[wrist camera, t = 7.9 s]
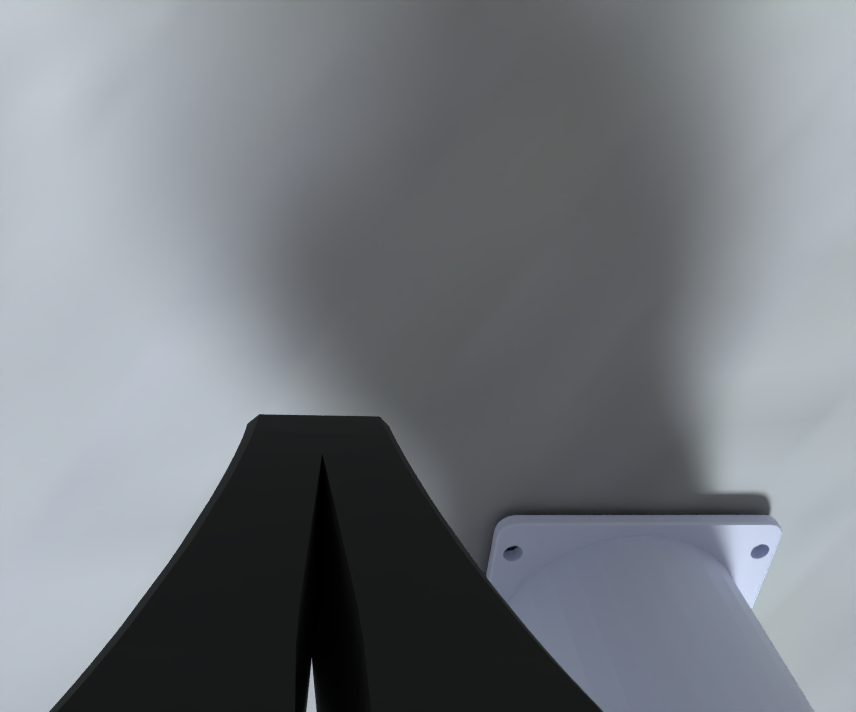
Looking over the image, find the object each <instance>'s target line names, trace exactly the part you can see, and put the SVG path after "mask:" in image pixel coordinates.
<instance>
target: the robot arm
mask: <svg viewBox="0 0 856 712" xmlns="http://www.w3.org/2000/svg"><path fill="white" fill-rule="evenodd" d="M781 536H782V529H781V527H780V525H779V524H778V522H777V521H776V520H775V519H774V518H773V517H771V516H768V515H513V516H508V517H506V518H504V519H502V520H501V521H500V522H499V523H498V524H497V525H496V528H495V530H494V535H493V541H492V546H491V551H490V557H489V562H488V568H487V573H486V576H485V575H484V573H483V572H482V571H481V569H480V568H479V567H478V565H477V564H476V563H475V561H474V560H473V559H472V557H471V556H470V554H469V553H468V552H467V550H466V549H465V547H464V546H463V545H462V543H461V542H460V540H459V539H458V538H457V536H456V535H455V533H454V532H453V531H452V529H451V528H450V526H449V525H448V524H447V522H446V521H445V519H444V518H443V516H442V515H441V513H440V512H439V510H438V509H437V507H436V506H435V504H434V503H433V501H432V500H431V498H430V497H429V495H428V494H427V492H426V490H425V489H424V487H423V486H422V484H421V482H420V481H419V479H418V478H417V476H416V474H415V473H414V471H413V469H412V468H411V466H410V464H409V463H408V461H407V459H406V458H405V456H404V454H403V452H402V451H401V449H400V447H399V445H398V443H397V441H396V439H395V438H394V436H393V434H392V432H391V430H390V427H389V426H388V425H387V424H386V423H385V422H384V421H383V420H382V419H381V418H380V417H371V416H317V415H264V414H259V415H258V416H257V417H255V418H254V419H253V420H252V421H250V422H249V423H248V424H247V427H246V430H245V433H244V436H243V438H242V440H241V442H240V445H239V447H238V449H237V451H236V453H235V455H234V457H233V459H232V461H231V463H230V465H229V467H228V469H227V471H226V472H225V474H224V476H223V478H222V479H221V481H220V483H219V485H218V486H217V488H216V490H215V492H214V493H213V495H212V497H211V498H210V500H209V502H208V503H207V505H206V506H205V508H204V509H203V511H202V513H201V514H200V516H199V517H198V519H197V520H196V522H195V523H194V525H193V527H192V528H191V530H190V531H189V533H188V534H187V536H186V537H185V539H184V541H183V542H182V544H181V545H180V547H179V548H178V550H177V551H176V553H175V554H174V556H173V557H172V558H171V560H170V561H169V563H168V564H167V565H166V567H165V568H164V570H163V571H162V572H161V574H160V575H159V576H158V578H157V579H156V580H155V582H154V583H153V584H152V586H151V587H150V588H149V590H148V591H147V592H146V594H145V595H144V596H143V598H142V599H141V600H140V602H139V603H138V604H137V606H136V607H135V608H134V610H133V611H132V612H131V614H130V615H129V616H128V618H127V619H126V621H125V622H124V623H123V625H122V626H121V627H120V628H119V630H118V631H117V632H116V633H115V635H114V636H113V637H112V638H111V640H110V641H109V642H108V643H107V645H106V646H105V647H104V648H103V650H102V651H101V652H100V653H99V654H98V656H97V657H96V658H95V659H94V661H93V662H92V663H91V664H90V665H89V667H88V668H87V669H86V670H85V671H84V672H83V674H82V675H81V676H80V677H79V678H78V680H77V681H76V682H75V683H74V684H73V685H72V687H71V688H70V689H69V690H68V691H67V692H66V693H65V695H64V696H63V697H62V698H61V699H60V700H59V701H58V702H57V704H56V705H55V706H54V707H53V708H52V709H51V710H50V711H49V712H306V708H307V699H308V689H309V679H310V669H311V659H312V665H313V676H314V687H315V698H316V709H317V712H814V710H813V708H812V707H811V705H810V703H809V702H808V700H807V699H806V697H805V695H804V694H803V692H802V690H801V689H800V687H799V686H798V684H797V682H796V681H795V679H794V677H793V676H792V674H791V673H790V671H789V669H788V668H787V666H786V664H785V663H784V661H783V660H782V658H781V656H780V655H779V653H778V651H777V650H776V648H775V647H774V645H773V643H772V642H771V640H770V638H769V637H768V635H767V634H766V632H765V630H764V629H763V627H762V626H761V624H760V622H759V621H758V619H757V617H756V616H755V614H754V613H753V611H752V608H753V605H754V603H755V600H756V598H757V595H758V593H759V590H760V588H761V585H762V583H763V580H764V578H765V576H766V573H767V571H768V568H769V566H770V563H771V561H772V558H773V556H774V553H775V551H776V548H777V546H778V543H779V541H780V539H781ZM757 545H759V546H758V547H756V546H757ZM511 546H518V547H517V548H515V549H514V550H510V551H506V549H507V548H508V547H511ZM754 547H756V548H754Z"/></svg>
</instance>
